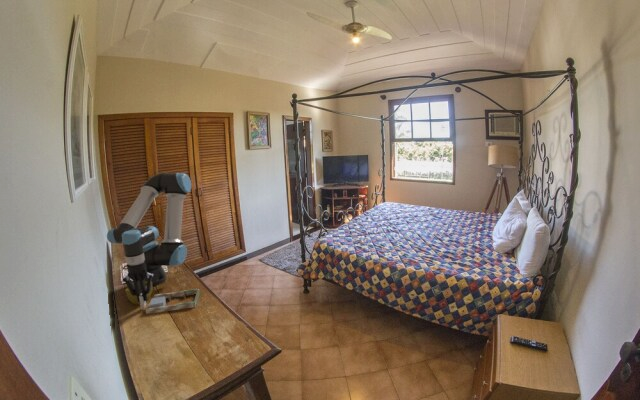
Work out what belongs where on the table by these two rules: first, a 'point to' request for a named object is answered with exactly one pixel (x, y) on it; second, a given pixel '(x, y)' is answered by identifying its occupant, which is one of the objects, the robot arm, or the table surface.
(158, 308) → the wooden wall shelf
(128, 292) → the flower pot
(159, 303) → the slate block
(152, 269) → the robot arm
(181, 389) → the table surface
